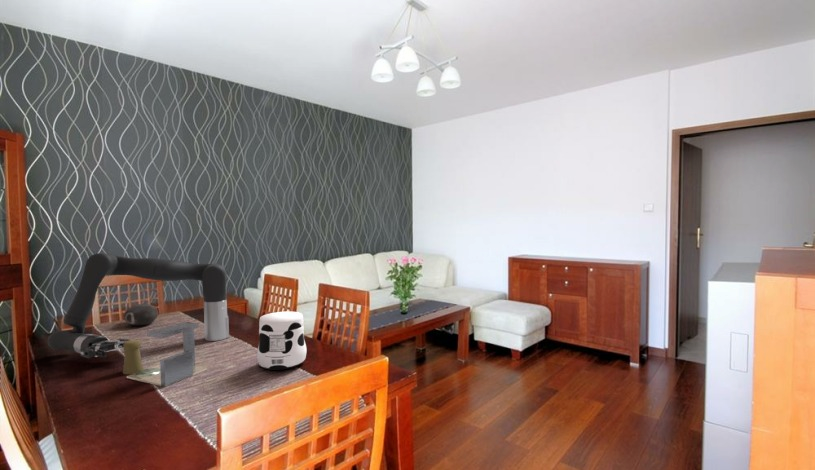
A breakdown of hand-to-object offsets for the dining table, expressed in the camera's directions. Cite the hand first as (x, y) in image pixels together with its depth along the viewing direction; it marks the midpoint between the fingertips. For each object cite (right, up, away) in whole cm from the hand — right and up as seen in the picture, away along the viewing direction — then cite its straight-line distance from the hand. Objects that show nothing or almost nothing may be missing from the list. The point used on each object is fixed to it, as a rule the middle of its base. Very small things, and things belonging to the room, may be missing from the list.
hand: (118, 350), depth 144 cm
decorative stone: (-31, -4, +59) cm, 67 cm away
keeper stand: (+21, -7, -6) cm, 23 cm away
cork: (+7, -7, -3) cm, 10 cm away
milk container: (+59, -6, +2) cm, 59 cm away
